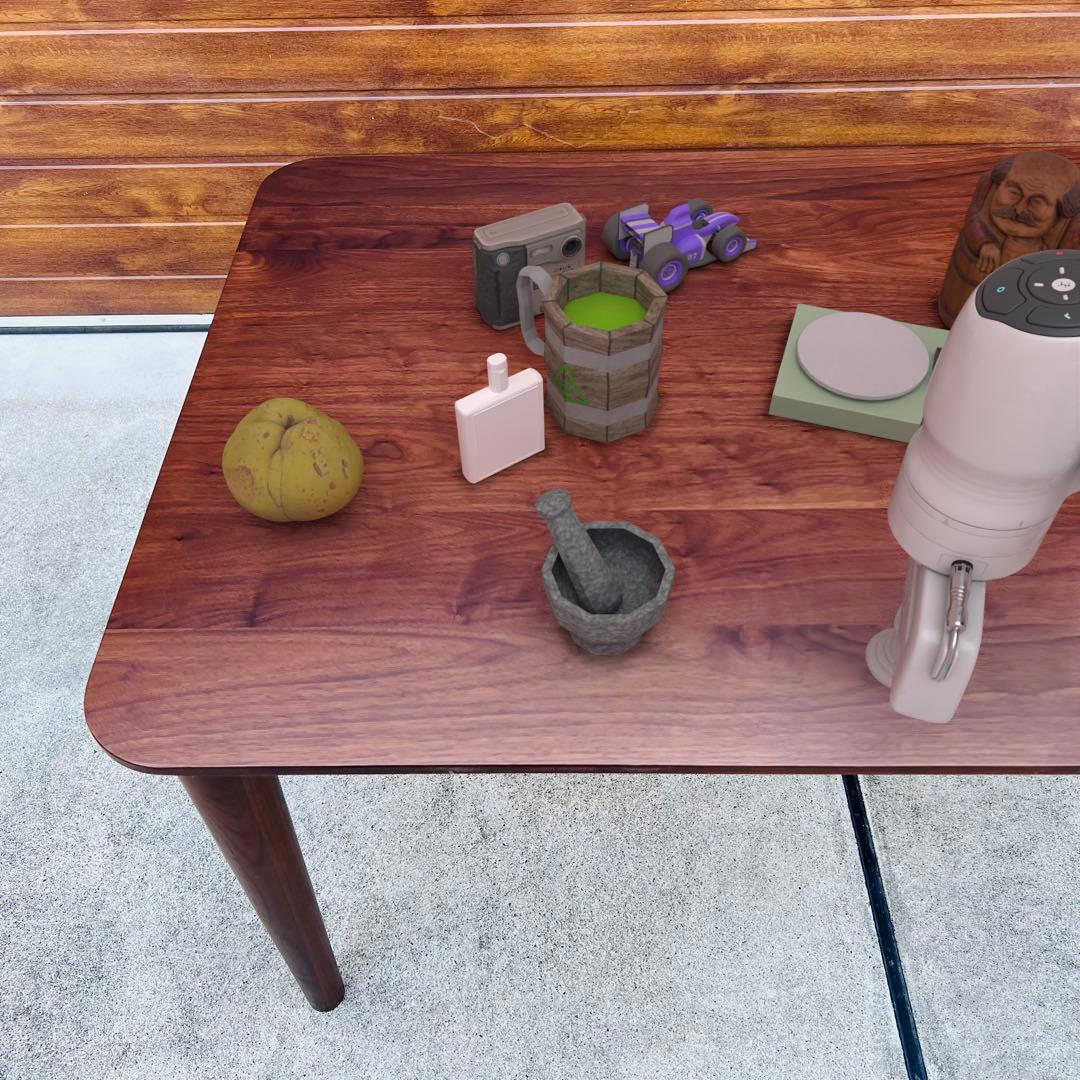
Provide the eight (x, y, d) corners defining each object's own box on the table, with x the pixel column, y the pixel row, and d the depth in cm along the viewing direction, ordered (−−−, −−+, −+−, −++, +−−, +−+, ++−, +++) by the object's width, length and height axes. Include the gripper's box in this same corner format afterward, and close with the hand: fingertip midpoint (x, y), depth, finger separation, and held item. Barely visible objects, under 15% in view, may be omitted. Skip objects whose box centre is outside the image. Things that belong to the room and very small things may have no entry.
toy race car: (764, 255, 109) (773, 202, 104) (649, 301, 105) (653, 247, 100) (711, 213, 115) (718, 160, 110) (600, 255, 110) (602, 202, 105)
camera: (491, 336, 102) (484, 252, 94) (470, 304, 105) (462, 220, 98) (592, 305, 105) (594, 221, 97) (568, 275, 108) (568, 191, 100)
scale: (946, 351, 99) (957, 322, 96) (934, 448, 91) (945, 420, 88) (793, 323, 102) (799, 294, 99) (768, 414, 94) (774, 385, 91)
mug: (682, 399, 95) (694, 295, 86) (608, 460, 91) (612, 357, 81) (559, 329, 102) (558, 226, 93) (484, 382, 98) (475, 279, 88)
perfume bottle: (472, 486, 89) (460, 384, 80) (460, 473, 90) (448, 370, 81) (547, 449, 92) (544, 346, 82) (535, 436, 93) (531, 333, 83)
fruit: (264, 574, 83) (232, 493, 76) (224, 482, 90) (191, 399, 82) (388, 524, 86) (370, 442, 79) (341, 439, 93) (320, 356, 85)
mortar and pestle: (690, 613, 80) (706, 514, 70) (625, 696, 75) (632, 602, 66) (574, 549, 84) (575, 448, 75) (506, 624, 80) (497, 526, 70)
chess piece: (936, 636, 74) (971, 561, 67) (943, 699, 71) (981, 626, 64) (862, 629, 75) (889, 554, 68) (866, 691, 72) (894, 618, 65)
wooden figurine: (917, 322, 102) (973, 156, 88) (942, 290, 105) (999, 125, 91) (1034, 366, 97) (1111, 199, 83) (1056, 331, 100) (1134, 165, 86)
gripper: (1019, 660, 53) (949, 780, 64) (1030, 404, 65) (969, 540, 76) (895, 631, 54) (847, 753, 65) (929, 386, 67) (883, 522, 77)
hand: (913, 636), depth 70 cm, fingers closed on chess piece, 3 cm apart
